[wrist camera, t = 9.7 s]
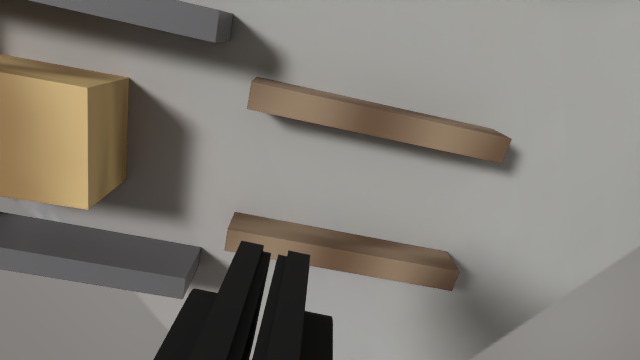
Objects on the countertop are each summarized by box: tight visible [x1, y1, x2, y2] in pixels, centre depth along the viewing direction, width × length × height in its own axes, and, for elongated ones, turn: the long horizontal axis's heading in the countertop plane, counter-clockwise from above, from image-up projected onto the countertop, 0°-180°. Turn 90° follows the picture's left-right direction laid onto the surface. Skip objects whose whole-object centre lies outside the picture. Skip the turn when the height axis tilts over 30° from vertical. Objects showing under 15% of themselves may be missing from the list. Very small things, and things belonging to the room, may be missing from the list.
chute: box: [224, 77, 511, 291], centre depth 20 cm, size 12×8×2 cm
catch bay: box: [0, 0, 233, 299], centre depth 18 cm, size 14×13×3 cm
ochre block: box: [0, 54, 129, 210], centre depth 18 cm, size 7×5×4 cm
